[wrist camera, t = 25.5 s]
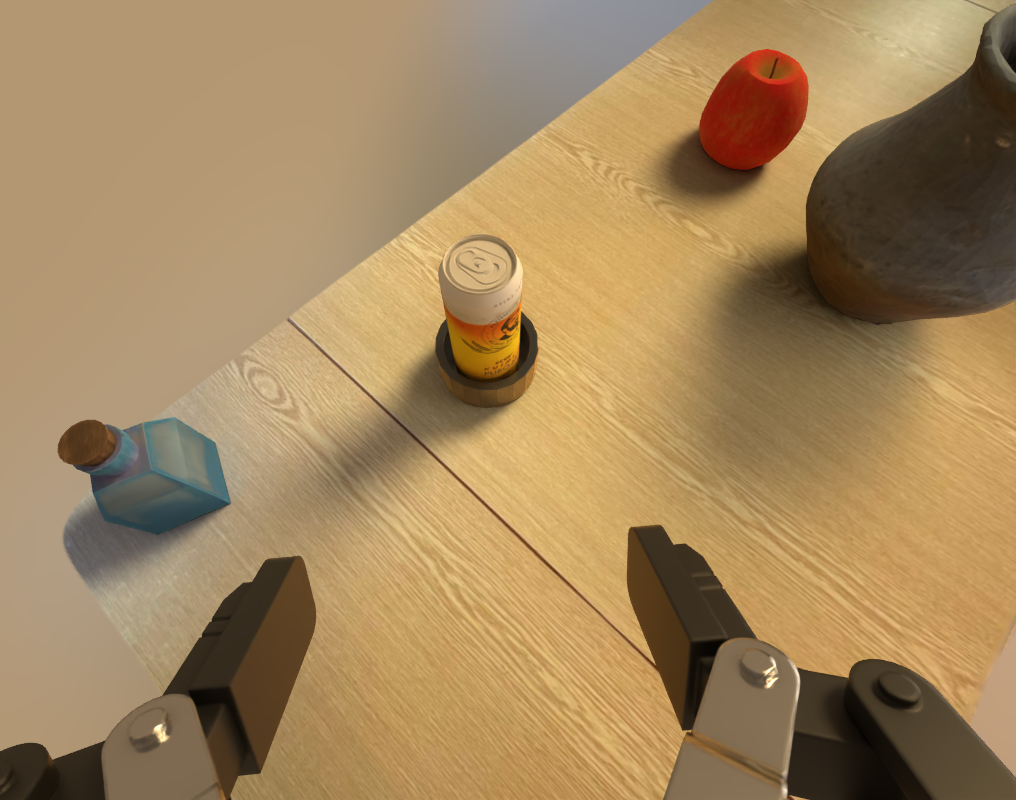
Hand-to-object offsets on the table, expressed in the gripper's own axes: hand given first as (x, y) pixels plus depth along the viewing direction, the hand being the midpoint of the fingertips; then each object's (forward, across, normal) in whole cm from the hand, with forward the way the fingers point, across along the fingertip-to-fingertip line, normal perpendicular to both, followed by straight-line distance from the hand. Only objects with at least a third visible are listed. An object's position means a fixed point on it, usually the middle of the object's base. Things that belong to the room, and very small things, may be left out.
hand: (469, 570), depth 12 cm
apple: (+57, -34, -13) cm, 68 cm away
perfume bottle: (+30, +26, +13) cm, 42 cm away
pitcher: (+42, -42, +2) cm, 60 cm away
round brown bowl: (+37, -1, +6) cm, 38 cm away
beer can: (+37, -1, +6) cm, 37 cm away
